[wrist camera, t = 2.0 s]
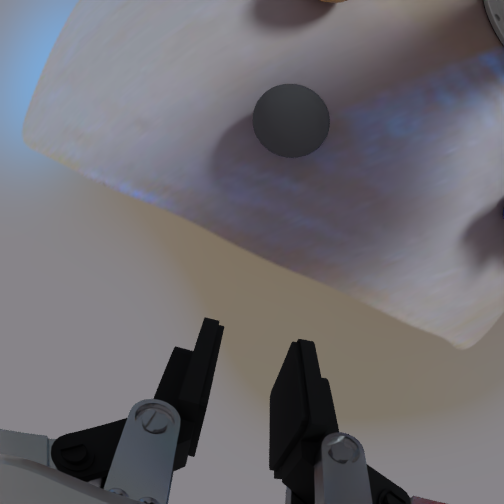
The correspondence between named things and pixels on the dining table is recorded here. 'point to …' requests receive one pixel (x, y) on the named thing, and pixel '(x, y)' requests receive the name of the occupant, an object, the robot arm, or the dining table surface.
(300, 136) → the dark grey ball
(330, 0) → the object ball
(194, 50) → the dining table surface
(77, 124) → the dining table surface
